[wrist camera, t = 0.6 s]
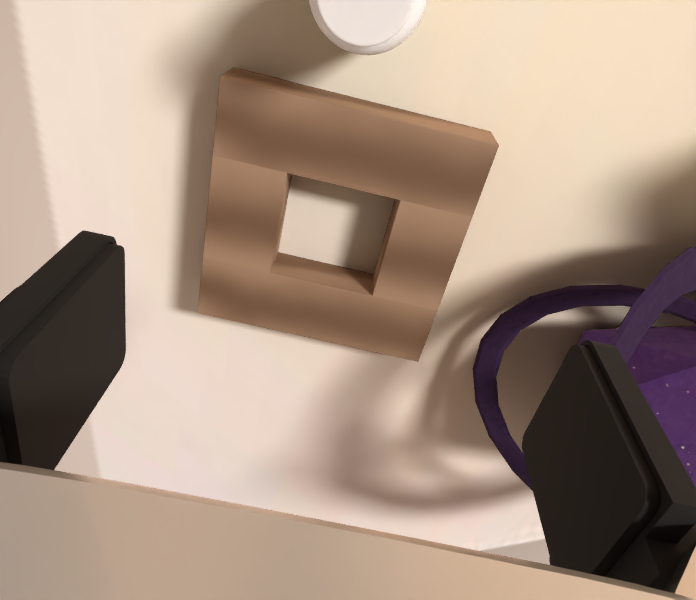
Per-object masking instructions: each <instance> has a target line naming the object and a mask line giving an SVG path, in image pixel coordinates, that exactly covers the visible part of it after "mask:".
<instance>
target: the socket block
mask: <svg viewBox="0 0 696 600" xmlns="http://www.w3.org/2000/svg"><path fill="white" fill-rule="evenodd" d="M498 147H499V145H498V143H497V142H496V140H495V138H494V136H493V135H492V133H491V132H490V131H486V130H482V129H478V128H474V127H470V126H466V125H462V124H458V123H454V122H450V121H446V120H442V119H438V118H434V117H430V116H426V115H422V114H418V113H414V112H410V111H406V110H402V109H398V108H394V107H390V106H386V105H382V104H378V103H374V102H370V101H366V100H362V99H358V98H354V97H350V96H346V95H342V94H338V93H334V92H330V91H326V90H322V89H318V88H314V87H310V86H306V85H302V84H298V83H294V82H290V81H286V80H282V79H278V78H274V77H270V76H266V75H262V74H258V73H254V72H250V71H246V70H242V69H238V68H234V67H233V68H232V69H230V70H229V71H227V72H226V73H224V74H223V75H221V76H220V83H219V93H218V104H217V114H216V125H215V136H214V146H213V157H212V167H211V178H210V188H209V199H208V209H207V220H206V230H205V241H204V251H203V262H202V272H201V283H200V294H199V304H198V313H201V314H205V315H210V316H214V317H219V318H223V319H228V320H232V321H237V322H241V323H246V324H251V325H255V326H260V327H264V328H269V329H273V330H278V331H282V332H287V333H291V334H296V335H300V336H305V337H309V338H314V339H318V340H323V341H327V342H332V343H336V344H341V345H345V346H350V347H354V348H359V349H363V350H368V351H372V352H377V353H381V354H386V355H390V356H395V357H399V358H404V359H408V360H413V361H417V362H418V361H419V358H420V355H421V353H422V350H423V347H424V345H425V342H426V339H427V337H428V334H429V331H430V329H431V326H432V323H433V321H434V318H435V315H436V313H437V310H438V307H439V305H440V302H441V299H442V297H443V294H444V291H445V289H446V286H447V283H448V281H449V278H450V275H451V272H452V270H453V267H454V264H455V262H456V259H457V256H458V254H459V251H460V248H461V246H462V243H463V240H464V238H465V235H466V232H467V230H468V227H469V224H470V222H471V219H472V216H473V214H474V211H475V208H476V206H477V203H478V200H479V198H480V195H481V192H482V189H483V187H484V184H485V181H486V179H487V176H488V173H489V171H490V168H491V165H492V163H493V160H494V157H495V155H496V152H497V149H498ZM292 174H294V175H298V176H302V177H306V178H310V179H314V180H319V181H323V182H327V183H331V184H335V185H339V186H344V187H348V188H352V189H356V190H360V191H364V192H369V193H373V194H377V195H381V196H385V197H390V198H394V199H395V202H394V206H393V209H392V213H391V216H390V220H389V223H388V226H387V230H386V233H385V237H384V240H383V244H382V247H381V251H380V254H379V258H378V261H377V265H376V268H375V272H374V274H370V273H366V272H361V271H357V270H353V269H348V268H344V267H340V266H335V265H331V264H327V263H322V262H318V261H314V260H309V259H305V258H301V257H296V256H292V255H288V254H283V253H279V252H278V249H279V243H280V238H281V232H282V226H283V221H284V215H285V209H286V204H287V198H288V192H289V187H290V181H291V175H292Z"/></svg>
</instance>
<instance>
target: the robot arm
mask: <svg viewBox="0 0 696 600" xmlns="http://www.w3.org/2000/svg"><path fill="white" fill-rule="evenodd" d="M125 352H126V333H125V253H124V248H123V247H122V246H119V245H117V244H116V240H115V238H114V237H112V236H107V235H103V234H98V233H93V232H89V231H82V232H80V233H79V234H78V235H77V236H75V237H74V238H73V239H72V240H71V241H70V242H69V243H68V244H67V245H65V246H64V247H63V248H62V249H61V250H60V251H59V252H58V253H57V254H55V255H54V256H53V257H52V258H51V259H50V260H49V261H48V262H47V263H46V264H44V265H43V266H42V267H41V268H40V269H39V270H38V271H37V272H36V273H34V274H33V275H32V276H31V277H30V278H29V279H28V280H26V281H25V282H24V283H23V284H22V285H20V286H19V287H17V288H16V289H14V290H13V291H12V292H11V293H10V294H9V295H7V296H6V297H5V298H4V299H3V300H2V301H1V302H0V600H696V487H695V486H694V484H693V482H692V480H691V479H690V477H689V475H688V473H687V472H686V470H685V468H684V466H683V464H682V463H681V461H680V459H679V457H678V456H677V454H676V452H675V450H674V448H673V447H672V445H671V443H670V441H669V440H668V438H667V436H666V434H665V432H664V431H663V429H662V427H661V425H660V424H659V422H658V420H657V418H656V416H655V415H654V413H653V411H652V409H651V408H650V406H649V404H648V402H647V400H646V399H645V397H644V395H643V393H642V392H641V390H640V388H639V386H638V384H637V383H636V381H635V379H634V377H633V376H632V374H631V372H630V370H629V369H628V367H627V365H626V363H625V361H624V360H623V358H622V356H621V354H620V353H619V351H618V349H617V348H616V347H615V346H613V345H609V344H604V343H599V342H595V341H590V340H585V341H583V342H582V343H581V344H580V345H574V346H573V347H572V348H571V349H570V351H569V353H568V354H567V356H566V358H565V360H564V362H563V364H562V365H561V367H560V369H559V371H558V373H557V375H556V376H555V378H554V380H553V382H552V384H551V386H550V387H549V389H548V391H547V393H546V395H545V397H544V398H543V400H542V402H541V404H540V406H539V408H538V409H537V411H536V413H535V415H534V417H533V419H532V420H531V422H530V424H529V426H528V428H527V430H526V431H525V434H524V436H523V441H522V450H523V454H524V458H525V462H526V466H527V470H528V473H529V477H530V481H531V485H532V489H533V493H534V497H535V501H536V504H537V508H538V512H539V516H540V520H541V524H542V528H543V531H544V535H545V539H546V543H547V547H548V551H549V555H550V559H551V562H552V565H547V564H542V563H537V562H532V561H527V560H522V559H516V558H512V557H506V556H501V555H496V554H491V553H486V552H481V551H476V550H471V549H466V548H461V547H456V546H451V545H446V544H441V543H436V542H431V541H426V540H421V539H416V538H411V537H406V536H401V535H396V534H391V533H386V532H380V531H375V530H370V529H365V528H360V527H355V526H350V525H345V524H339V523H334V522H329V521H324V520H319V519H314V518H308V517H303V516H298V515H293V514H288V513H282V512H277V511H272V510H267V509H262V508H257V507H251V506H246V505H241V504H235V503H230V502H225V501H219V500H214V499H209V498H203V497H198V496H193V495H188V494H182V493H177V492H172V491H166V490H161V489H156V488H150V487H145V486H140V485H134V484H129V483H124V482H118V481H113V480H107V479H101V478H95V477H90V476H84V475H78V474H72V473H66V472H61V471H55V470H54V469H55V467H56V466H57V464H58V463H59V461H60V460H61V458H62V456H63V455H64V454H65V452H66V450H67V449H68V447H69V446H70V444H71V443H72V441H73V440H74V438H75V437H76V435H77V434H78V432H79V431H80V429H81V427H82V426H83V425H84V423H85V422H86V420H87V419H88V417H89V415H90V414H91V412H92V411H93V409H94V408H95V406H96V405H97V403H98V402H99V400H100V399H101V397H102V396H103V394H104V393H105V391H106V389H107V388H108V386H109V385H110V383H111V382H112V380H113V379H114V377H115V376H116V374H117V373H118V371H119V370H120V368H121V366H122V364H123V361H124V358H125Z"/></svg>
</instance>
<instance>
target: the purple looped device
mask: <svg viewBox="0 0 696 600" xmlns="http://www.w3.org/2000/svg"><path fill="white" fill-rule="evenodd" d="M695 290H696V246H695V247H691V248H689V249H687V250H686V251H685V252H684V253H682V254H681V255H680V256H678V257H677V258H676V259H674V260H673V261H672V262H671V263H669V264H668V265H667V266H665V267H664V268H663V269H662V270H661V271H660V273H659V274H658V275H657V276H656V277H655V279H654V280H653V281H652V282H651V284H650V285H649V286H648V287H647V288H646V289H643V288H637V287H631V286H625V285H585V286H568V287H564V288H561V289H557V290H553V291H549V292H545V293H542V294H538V295H534V296H530V297H529V298H527V299H525V300H524V301H522V302H520V303H519V304H517V305H516V306H514V307H512V308H511V309H509V310H507V311H506V312H504V313H502V314H501V315H500V316H499V317H498V318H497V320H496V321H495V322H494V323H493V325H492V326H491V327H490V329H489V330H488V331H487V332H486V334H485V335H484V336H483V338H482V339H481V341H480V345H479V348H478V352H477V355H476V359H475V362H474V366H473V378H474V390H475V402H476V404H477V407H478V409H479V412H480V414H481V417H482V420H483V422H484V425H485V427H486V430H487V432H488V435H489V437H490V438H491V440H492V441H493V443H494V444H495V446H496V447H497V449H498V450H499V452H500V453H501V454H502V456H503V457H504V459H505V460H506V462H507V463H508V465H509V466H510V468H511V469H512V471H513V472H514V473H515V474H516V475H517V476H518V477H519V478H520V479H521V480H522V481H523V482H524V483H525V484H526V485H527V486H528V487H529V488H530V489H531V490H532V491H533V489H532V485H531V481H530V477H529V473H528V470H527V466H526V462H525V458H524V455H523V453H522V452H521V450H520V449H519V447H518V446H517V444H516V443H515V441H514V440H513V439H512V437H511V436H510V433H509V431H508V428H507V426H506V423H505V421H504V418H503V416H502V413H501V410H500V408H499V405H498V393H497V381H496V376H497V372H498V369H499V366H500V362H501V359H502V355H503V352H504V350H505V349H506V348H507V347H508V345H509V344H510V343H511V342H512V340H513V339H514V338H515V337H516V336H517V334H518V333H519V332H520V331H521V330H522V329H524V328H525V327H527V326H529V325H531V324H532V323H534V322H536V321H537V320H539V319H541V318H542V317H544V316H546V315H548V314H552V313H556V312H560V311H564V310H569V309H573V308H577V307H581V306H629V307H631V308H630V310H629V312H628V313H627V315H626V317H625V318H624V320H623V322H622V323H621V325H620V327H619V328H618V327H617V329H591V330H584V332H583V334H582V335H581V337H580V339H579V341H578V343H577V344H576V345H580V344H581V343H582V342H583V341H585V340H590V341H595V342H599V343H604V344H609V345H613V346H615V347H616V348H617V349H618V351H619V353H620V354H621V356H622V358H623V360H624V361H625V363H626V365H627V367H628V369H629V370H630V372H631V374H632V376H633V377H634V379H635V381H636V383H637V384H638V386H639V388H640V390H641V392H642V393H643V395H644V397H645V399H646V400H647V402H648V404H649V406H650V408H651V409H652V411H653V413H654V415H655V416H656V418H657V420H658V422H659V424H660V425H661V427H662V429H663V431H664V432H665V434H666V436H667V438H668V440H669V441H670V443H671V445H672V447H673V448H674V450H675V452H676V454H677V456H678V457H679V459H680V461H681V463H682V464H683V466H684V468H685V470H686V472H687V473H688V475H689V477H690V479H691V480H692V482H693V484H694V486H695V487H696V326H680V327H651V326H652V324H653V323H654V322H655V320H656V319H657V318H658V317H659V315H660V314H661V313H662V312H663V313H669V314H672V315H675V316H678V317H681V318H684V319H686V320H689V321H692V322H695V323H696V301H694V300H691V299H688V298H685V297H682V296H681V295H683V294H686V293H689V292H692V291H695ZM550 565H552V562H551V559H550Z"/></svg>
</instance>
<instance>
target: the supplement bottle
mask: <svg viewBox="0 0 696 600" xmlns="http://www.w3.org/2000/svg"><path fill="white" fill-rule="evenodd" d="M426 3H427V0H309V4H310V8H311V11H312V14H313V16H314V19H315V21H316V23H317V25H318V26H319V28H320V29H321V31H322V32H323V33H324V34H325V36H326V37H327V38H328V39H329V40H331V41H332V42H333V43H334V44H336V45H337V46H338V47H340V48H342V49H344V50H346V51H348V52H351V53H355V54H360V55H374V54H380V53H383V52H386V51H389V50H391V49H393V48H395V47H397V46H398V45H400V44H401V43H402V42H403V41H405V40H406V39H407V38H408V37H409V36H410V35H411V33H412V32H413V31H414V30H415V28H416V27H417V25H418V23H419V22H420V20H421V18H422V15H423V13H424V10H425V7H426Z"/></svg>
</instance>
